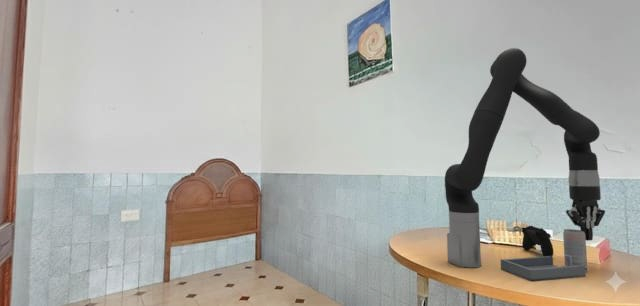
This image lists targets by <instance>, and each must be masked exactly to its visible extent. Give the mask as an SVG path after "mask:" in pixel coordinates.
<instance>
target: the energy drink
mask: <svg viewBox="0 0 640 306" xmlns="http://www.w3.org/2000/svg"><path fill="white" fill-rule="evenodd" d="M562 236H563V237H562V238H563V251H564V252H563V255H564V257H563V258H564V266H575V265H583V266H585V273H587V272H588V257H587V243H586V242H587V240H586V238H585V233H584V231H581V229H569V228H568V229H567V228H566V229H563V231H562Z"/></svg>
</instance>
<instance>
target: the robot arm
mask: <svg viewBox="0 0 640 306" xmlns="http://www.w3.org/2000/svg"><path fill="white" fill-rule="evenodd" d="M526 67H527V57H526V54H525V52H524V51H523V50H522V49H520V48H517V47H514V48H513V47H512V48H508V49H505V50H504V51H502V52H501V53H500V54H499V55H498V56H496V58H495V60H494V61H493V62H492V64H491V65H490V68H489V69H490V70H489V72H490V76H491V78H492V79H491V81H490V83H489V85H488V87H487V89H486V90H485V92H484V94H483V95H482V97H481V98H480V100H479V102H478V104H477V106H476V108H475V110H474V112H473V115H472V117H471V119H470V121H469V125H468V126H469V127H468V145H467V150H466V152H465V154H464V156H463V158H462V161H461V162H460V163H455V164H452V165H450V166H448V168H447V169H446V171H445V174H444V188H445V200H446V203H447V206H448V227H449V229H448V230H449V233H447V234H446V243H447V244H446V246H447V247H446V251H447V263H449V264H452V265H454V266H456V267H458V268H460V267H461V268H479V267H481V266H482V255H481V254H482V252H481V235H480V234H481V229H480V227H481V226H480V208H479V203H478V202H477V201H476V199H474V196H473V191H476V190H477V189H478V188H479V187H480V186H481V184H482V182H483V180H484V179H483V178H484V176H485V171H486V168H487V164H488V160H489V156H490V154H491V151H492V149H493V146H494V144H495V141H496V138H497V136H498V134H499V131H500V130H501V126H502V124H503V121H504V119H505V116H506V113H507V110H508V107H509V105H510V101H511V98H512V95H513V93H514V94H516V95H517V96H519V98H521V99H523V100H524V102H526V103H528V104H529V105H530V106H531V107H533V108H534V109H535V110H536V111H538V113H539V114H541V115H542V116H543V118H544V119H546V120H547V121H548V122H549V123H551V124H552V125H554V126H559V127H560V128H562V129H563V130H564V133H563V141H564V143H563V144H564V146H565V149H566V150H565V151H566V154H567V157H568V189H569V199H570V200H572V204H571V208H570V209H567V210H566V211H565V214H567V216H568V217H569V219H570V220H571V222H572V223H573V225H574V226H577V227H578V228H580V230H581V231H584V233H585V238H586V242H587V241H593V237H594V233H593V232H594V231H593V229H594V228H595V227H599V225H600V223H601V221H602V220H603V217H604V215H605V213H606V210H605V209H601V208H600V207H599V206H600V205H599V203H598V201H600V200H601V197H602V195H601V186H600V185H601V184H600V183H601V182H600V174H599V167H598V156H597V154H596V153H595V152H593V151H592V148H591V143H594V142H595V141H597V140H598V138H599V137H600V132H601V131H600V129H599V127H598V125H597V124H596V123H595V122H594V121H593V120H591V119H590V118H588V117H587V116H586V115H584V114H582V113H580V112H578V111H577V110H574V109H573V108H572V107H571V106H570V105H569V104H568V103H567V102H565V101H564V100H563V99H562V98H561V97H560V96H558V95H557V94H556V93H554V92H553V91H550V90H548V89H546V88H543V87H541V86H539V85H537V84H535V83H534V82H532V81H530V80H529V79H528V78H526V77H525V75H523V72H524V71H525V68H526Z"/></svg>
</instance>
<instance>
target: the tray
mask: <svg viewBox="0 0 640 306" xmlns="http://www.w3.org/2000/svg"><path fill="white" fill-rule="evenodd" d="M553 260H554V259H553V256H552V257H551V256H543V255H542V256H534V257H532V256H531V257H529V256H528V257H518V258H515V257H514V258H504V259H502V258H501V259H500V269H501V270H502V271H505V272H507V273H510V274H512V275H514V276H517V277H520V278H522V279H525V280H528V281H530V282H540V281H549V280H561V279H573V278H574V277H575V278H584V277H585V278H586V277H587V276H586V272H585V266H583V265H575V266H565V265H564V266H559V265H555V264H554V261H553Z"/></svg>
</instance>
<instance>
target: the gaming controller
mask: <svg viewBox="0 0 640 306" xmlns="http://www.w3.org/2000/svg"><path fill="white" fill-rule="evenodd" d="M521 233H522V234H523V238H522V241H521V242H522V243H521V244H522V245H521V246H522V249H523V250H525V252H526V251H529V250H531V249H533V248H534V247H535V246H536V245H537V246H540V251H541V254H542V257H543V256H551V257H553V256H554V247H553V243H552V241H551V239H550V238H551V237H552V236H551V233H549V232H547V231H546V230H545V229H544V228H542V227H541V228H539V227H536V226H534V225H527V226H526V227H523V226H522V227H521Z"/></svg>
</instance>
